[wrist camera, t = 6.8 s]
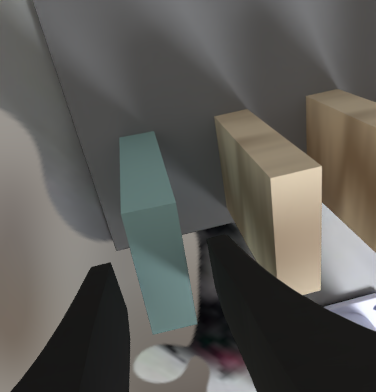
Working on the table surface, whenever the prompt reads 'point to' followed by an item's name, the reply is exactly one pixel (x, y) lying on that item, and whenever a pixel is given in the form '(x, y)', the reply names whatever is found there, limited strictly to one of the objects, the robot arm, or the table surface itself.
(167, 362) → the table surface
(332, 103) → the domino
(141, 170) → the domino
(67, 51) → the domino mat
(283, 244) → the domino
